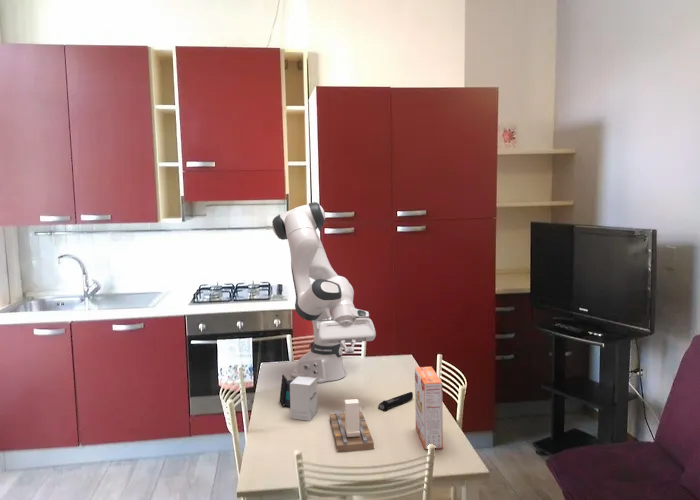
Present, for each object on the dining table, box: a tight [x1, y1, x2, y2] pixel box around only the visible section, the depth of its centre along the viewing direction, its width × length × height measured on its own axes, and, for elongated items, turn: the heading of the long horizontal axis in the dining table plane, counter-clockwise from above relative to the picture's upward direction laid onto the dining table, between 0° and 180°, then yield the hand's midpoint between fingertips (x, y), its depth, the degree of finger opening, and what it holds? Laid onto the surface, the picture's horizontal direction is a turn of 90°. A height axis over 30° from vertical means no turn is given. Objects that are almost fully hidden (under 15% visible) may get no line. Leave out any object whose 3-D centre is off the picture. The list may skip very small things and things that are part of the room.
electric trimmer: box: [377, 391, 414, 412], centre depth 190 cm, size 4×16×3 cm, turn 129°
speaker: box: [278, 374, 294, 408], centre depth 191 cm, size 8×6×10 cm
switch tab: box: [344, 398, 360, 437], centre depth 164 cm, size 5×4×10 cm
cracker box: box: [414, 366, 444, 451], centre depth 163 cm, size 14×6×21 cm, turn 4°
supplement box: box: [289, 376, 318, 422], centre depth 182 cm, size 7×7×13 cm
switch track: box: [329, 410, 375, 453], centre depth 169 cm, size 22×11×3 cm, turn 8°
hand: (349, 352), depth 182 cm, fingers closed
